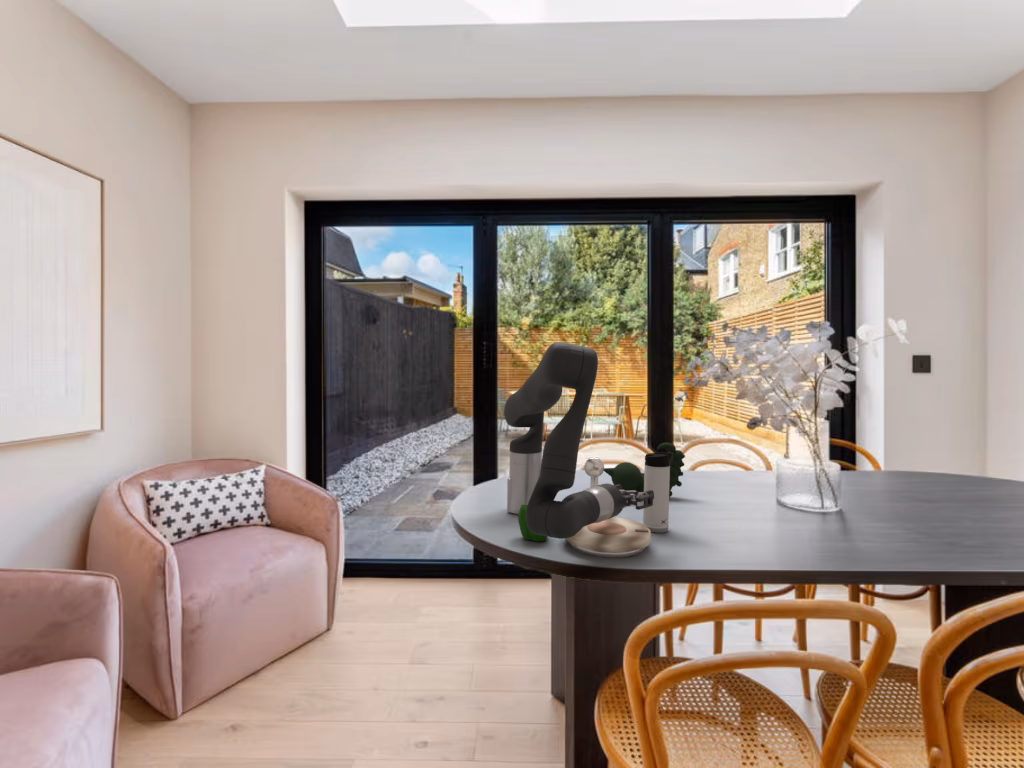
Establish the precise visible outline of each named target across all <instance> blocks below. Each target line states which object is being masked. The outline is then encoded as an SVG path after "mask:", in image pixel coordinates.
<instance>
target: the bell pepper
mask: <svg viewBox="0 0 1024 768" xmlns="http://www.w3.org/2000/svg"><path fill="white" fill-rule="evenodd" d="M526 508H527V505H521V507H520V510H519V513H518V514H517V516H518V519H517V520H518V521H517V522H518V525H519V529H520V534H521V536H522V537H523V539H524V540H528V541H529V540H531V541H533V542H544V541H546V540H547V539H548V537H547V536H541V535H536V534H534V533H532V532H531V531H530V530H529V529H528V527H527V524H526V518H525V514H526Z"/></svg>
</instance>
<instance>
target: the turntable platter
mask: <svg viewBox="0 0 1024 768" xmlns="http://www.w3.org/2000/svg"><path fill="white" fill-rule="evenodd" d="M651 533H652V532H651V531H650V529H649V528H648V527H646V526H645V525H643V523H640V522H638V521H635V520H631V519H627V518H622V517H617V516H615V517H612V518H610V519H607V520H604V521H601V522H598V523H592V524H590V525H587V526H584V527H583V528H582V529H581V530H580V531H579V532H578V533H577V534H576V535H574V536H573V537H570V538H565V539H564V540H566V541H567V542H568V543H569V544H570V543H572V544H574V545H576V546H579V547H582V548H586V549H591V550H596V551H605V552H627V551H634V550H639V549H642V548H643V549H645V548H646V547H649V545H650V544H651V537H652V536H651V535H652V534H651Z"/></svg>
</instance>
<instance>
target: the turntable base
mask: <svg viewBox="0 0 1024 768" xmlns="http://www.w3.org/2000/svg"><path fill="white" fill-rule="evenodd" d="M569 544H570V546H571V547H572V548H573V549H574V550H575V549H576V550H575V551H577V552H579V553H582V554H585V555H589V556H593V557H599V558H608V559H609V558H611V559H613V558H616V559H617V558H618V559H619V558H627V557H632V556H636V555H638V554H641V553H642V552H643V551H644V548H642V549H639V550H634V551H627V552H605V551H596V550H591V549H586V548H582V547H579V546H576V545H574V544H572V543H570V542H569Z"/></svg>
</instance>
